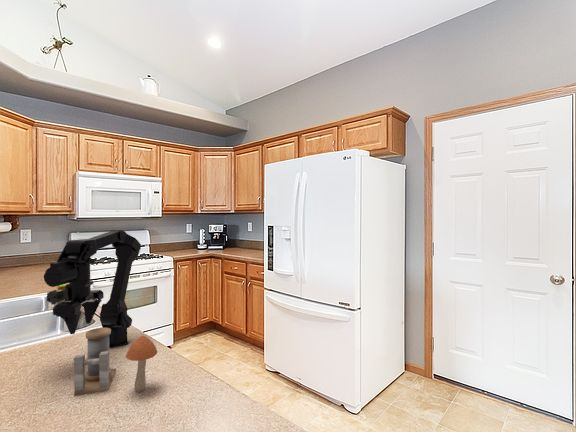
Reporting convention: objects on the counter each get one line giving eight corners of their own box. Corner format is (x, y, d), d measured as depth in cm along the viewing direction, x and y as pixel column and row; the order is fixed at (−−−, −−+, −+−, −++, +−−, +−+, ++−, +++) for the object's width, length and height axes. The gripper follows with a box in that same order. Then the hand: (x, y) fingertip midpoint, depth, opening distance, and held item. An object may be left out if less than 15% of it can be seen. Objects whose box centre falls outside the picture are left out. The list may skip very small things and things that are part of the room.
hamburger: (82, 288, 210) (82, 274, 209) (72, 292, 198) (72, 278, 198) (62, 288, 208) (62, 275, 208) (51, 293, 196) (50, 279, 196)
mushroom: (164, 384, 93) (163, 332, 93) (143, 400, 85) (142, 342, 85) (141, 380, 96) (140, 328, 95) (119, 394, 88) (118, 339, 88)
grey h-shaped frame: (86, 375, 98) (85, 342, 98) (116, 371, 101) (115, 339, 100) (74, 395, 88) (73, 358, 87) (107, 390, 90) (107, 354, 90)
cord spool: (105, 368, 101) (104, 326, 100) (115, 374, 97) (114, 330, 97) (82, 376, 95) (81, 332, 95) (91, 383, 92) (91, 337, 91)
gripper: (69, 274, 112) (70, 319, 113) (32, 287, 94) (33, 341, 94) (103, 273, 113) (104, 318, 114) (73, 286, 95) (74, 339, 95)
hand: (80, 328), depth 104 cm, fingers open, 9 cm apart
